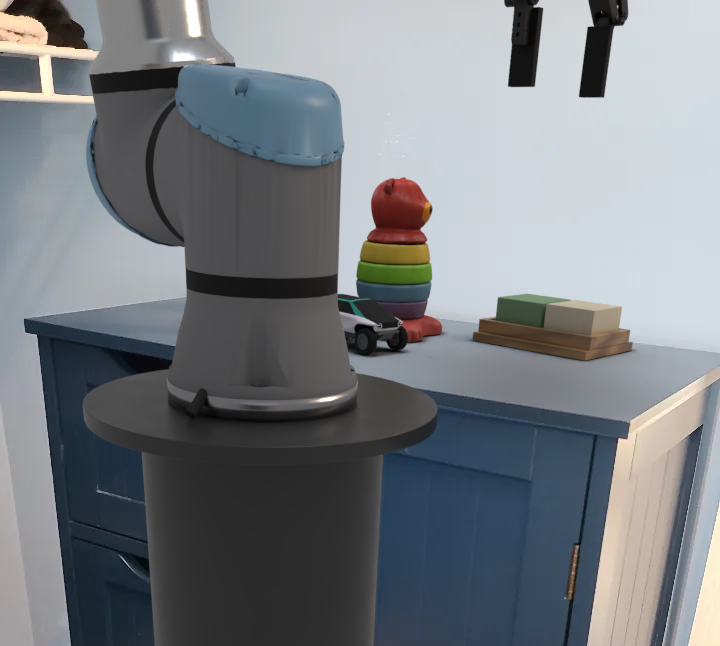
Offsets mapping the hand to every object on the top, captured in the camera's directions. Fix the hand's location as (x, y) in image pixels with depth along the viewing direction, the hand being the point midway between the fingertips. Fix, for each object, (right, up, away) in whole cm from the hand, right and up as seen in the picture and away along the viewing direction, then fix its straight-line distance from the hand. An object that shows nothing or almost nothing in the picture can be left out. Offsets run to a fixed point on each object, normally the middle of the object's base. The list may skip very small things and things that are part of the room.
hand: (557, 92), depth 98 cm
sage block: (+1, -18, +20) cm, 27 cm away
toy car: (-21, -22, +13) cm, 33 cm away
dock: (+3, -20, +18) cm, 28 cm away
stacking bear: (-16, -18, +22) cm, 33 cm away
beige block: (+6, -21, +16) cm, 27 cm away
